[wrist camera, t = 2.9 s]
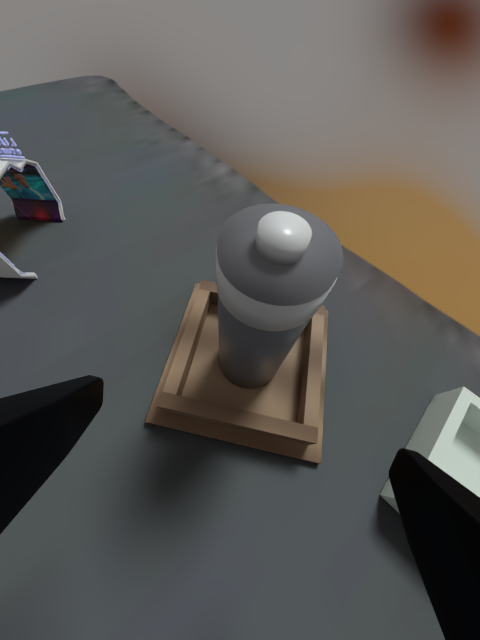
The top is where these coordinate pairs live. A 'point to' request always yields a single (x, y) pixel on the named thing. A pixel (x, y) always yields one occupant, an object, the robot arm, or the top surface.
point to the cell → (270, 286)
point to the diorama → (26, 197)
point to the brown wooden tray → (240, 403)
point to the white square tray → (449, 439)
